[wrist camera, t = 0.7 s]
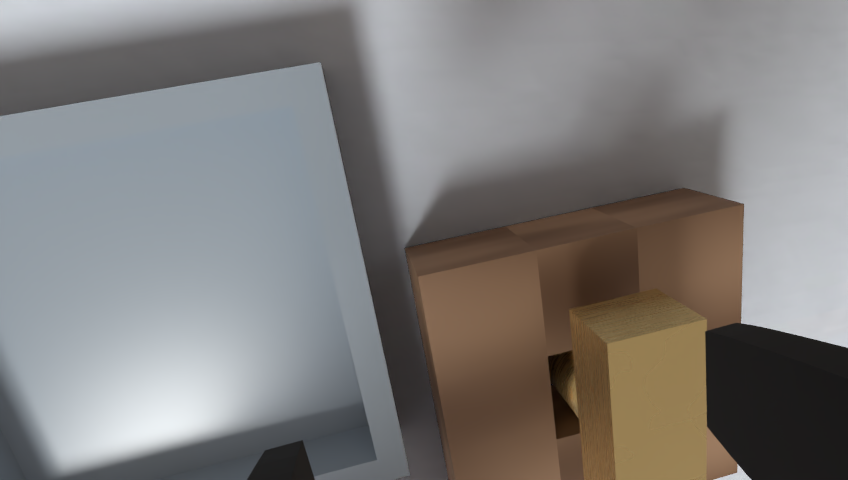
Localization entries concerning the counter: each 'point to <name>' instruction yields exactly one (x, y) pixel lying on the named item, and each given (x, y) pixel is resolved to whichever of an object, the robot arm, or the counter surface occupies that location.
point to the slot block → (557, 319)
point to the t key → (637, 387)
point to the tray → (187, 289)
